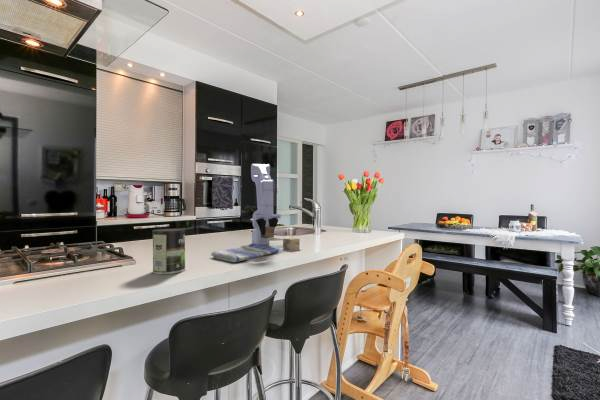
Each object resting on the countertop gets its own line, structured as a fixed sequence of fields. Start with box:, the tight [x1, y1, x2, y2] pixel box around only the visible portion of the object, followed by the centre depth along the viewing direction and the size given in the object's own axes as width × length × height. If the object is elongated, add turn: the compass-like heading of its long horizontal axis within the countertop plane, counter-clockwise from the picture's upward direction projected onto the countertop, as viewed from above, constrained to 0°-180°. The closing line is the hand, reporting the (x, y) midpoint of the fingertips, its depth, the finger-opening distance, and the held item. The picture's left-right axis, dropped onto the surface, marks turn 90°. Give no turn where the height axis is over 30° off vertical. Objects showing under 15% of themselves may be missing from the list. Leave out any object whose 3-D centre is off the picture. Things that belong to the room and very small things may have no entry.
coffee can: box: [151, 227, 186, 275], centre depth 103 cm, size 10×10×14 cm
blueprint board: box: [271, 244, 303, 254], centre depth 143 cm, size 16×16×1 cm
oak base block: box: [282, 236, 301, 252], centre depth 142 cm, size 6×6×5 cm
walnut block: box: [261, 226, 275, 239], centre depth 143 cm, size 4×4×5 cm
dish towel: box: [210, 243, 279, 263], centre depth 128 cm, size 17×24×3 cm
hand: (267, 234), depth 143 cm, fingers closed on walnut block, 4 cm apart
